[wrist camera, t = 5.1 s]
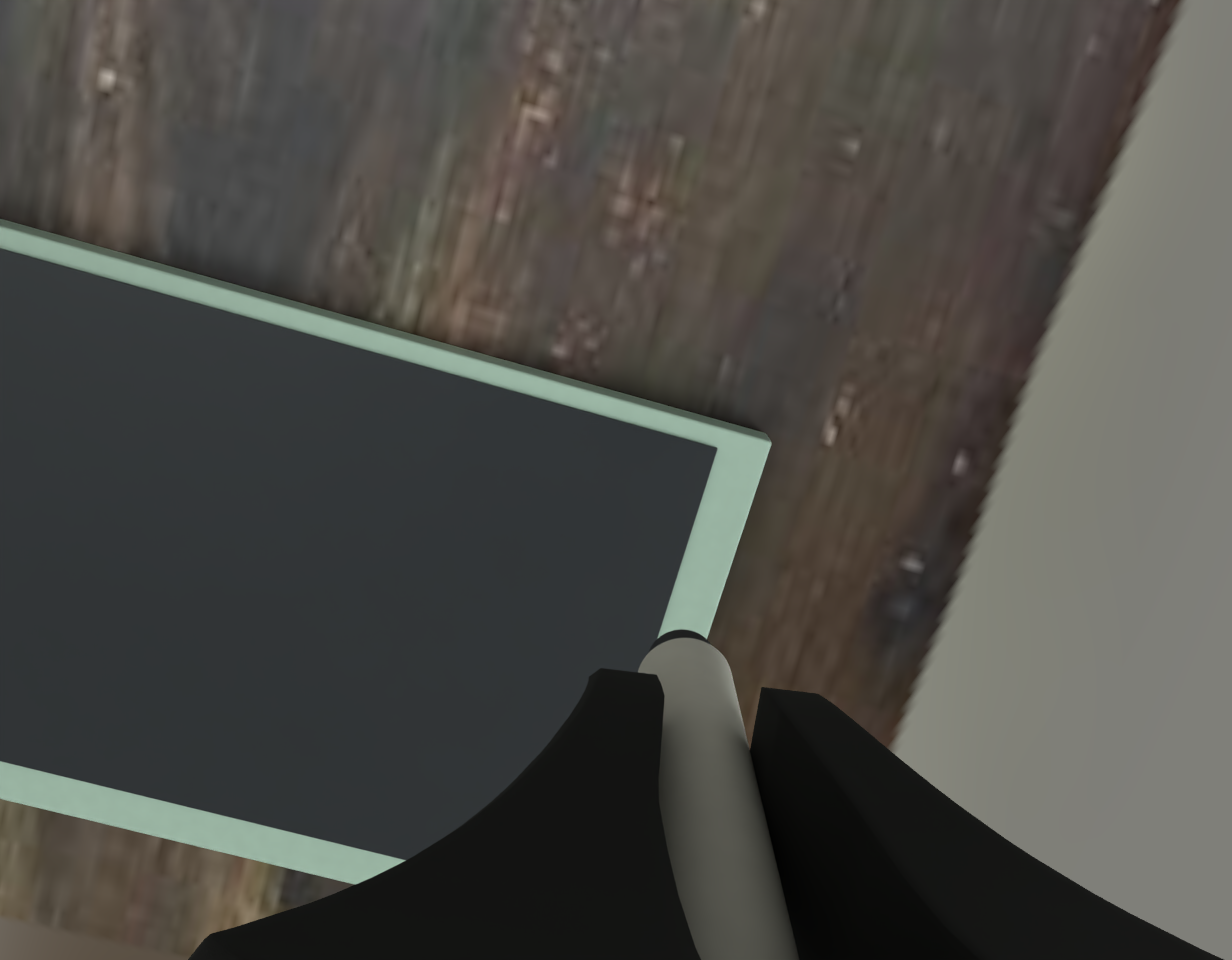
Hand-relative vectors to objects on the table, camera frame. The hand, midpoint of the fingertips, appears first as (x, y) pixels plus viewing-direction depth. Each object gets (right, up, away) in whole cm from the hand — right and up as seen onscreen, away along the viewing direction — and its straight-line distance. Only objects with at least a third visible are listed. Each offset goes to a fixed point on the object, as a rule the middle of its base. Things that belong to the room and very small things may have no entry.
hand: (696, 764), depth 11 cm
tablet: (-8, +1, +11) cm, 13 cm away
